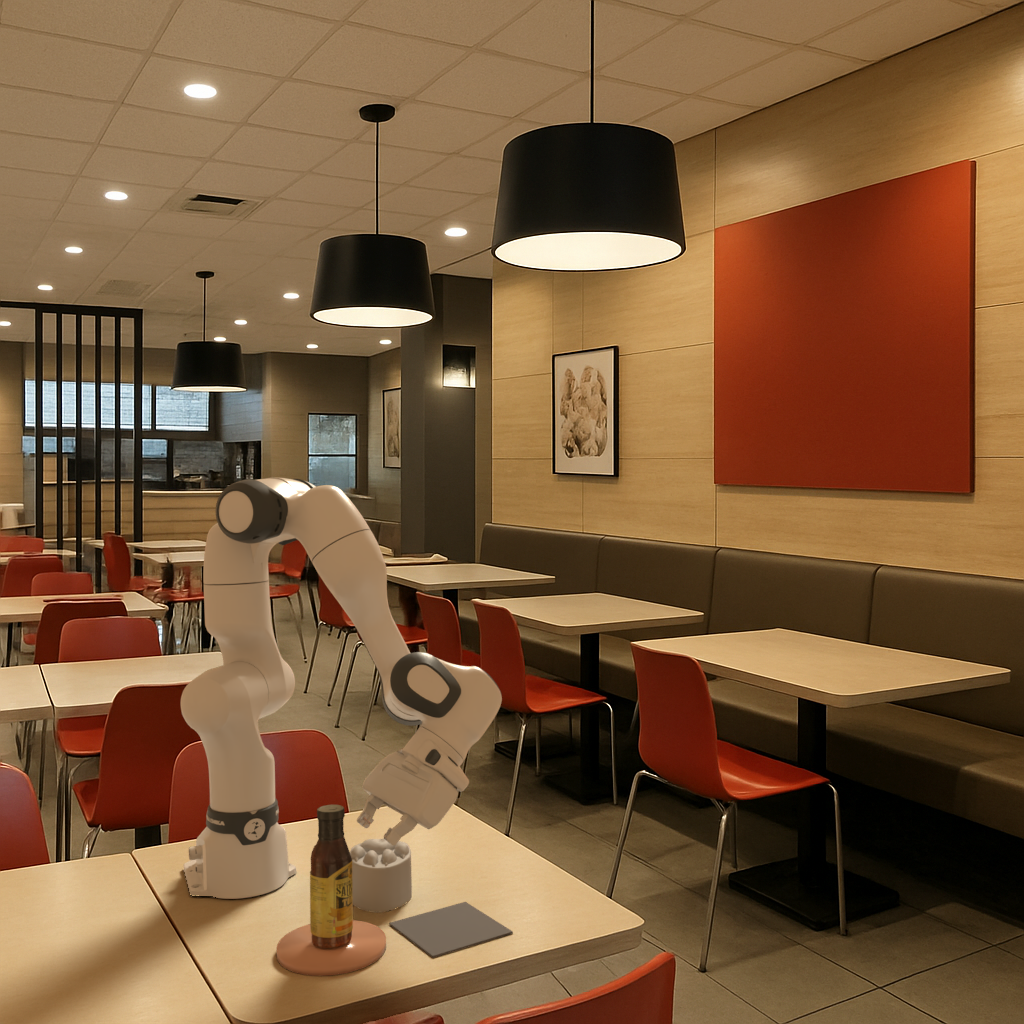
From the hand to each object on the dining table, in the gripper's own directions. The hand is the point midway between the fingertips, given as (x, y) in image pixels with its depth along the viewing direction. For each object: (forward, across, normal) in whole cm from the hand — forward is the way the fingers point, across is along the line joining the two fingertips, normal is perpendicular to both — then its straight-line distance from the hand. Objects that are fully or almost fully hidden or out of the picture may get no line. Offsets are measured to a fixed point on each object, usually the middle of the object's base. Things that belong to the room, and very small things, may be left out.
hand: (374, 833), depth 153 cm
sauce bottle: (+16, 0, +6) cm, 17 cm away
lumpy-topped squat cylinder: (+6, -14, +17) cm, 23 cm away
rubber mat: (+4, +4, +19) cm, 20 cm away
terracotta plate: (+16, 0, +6) cm, 18 cm away
